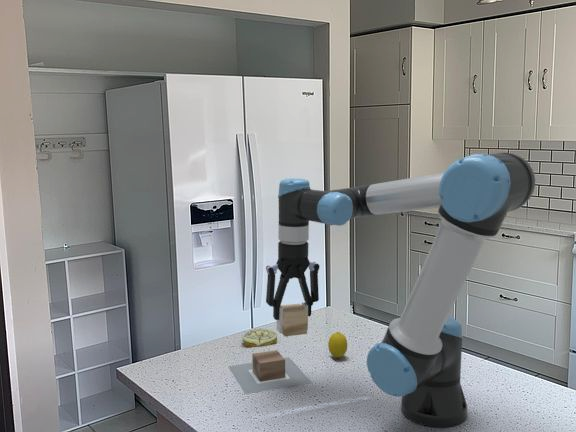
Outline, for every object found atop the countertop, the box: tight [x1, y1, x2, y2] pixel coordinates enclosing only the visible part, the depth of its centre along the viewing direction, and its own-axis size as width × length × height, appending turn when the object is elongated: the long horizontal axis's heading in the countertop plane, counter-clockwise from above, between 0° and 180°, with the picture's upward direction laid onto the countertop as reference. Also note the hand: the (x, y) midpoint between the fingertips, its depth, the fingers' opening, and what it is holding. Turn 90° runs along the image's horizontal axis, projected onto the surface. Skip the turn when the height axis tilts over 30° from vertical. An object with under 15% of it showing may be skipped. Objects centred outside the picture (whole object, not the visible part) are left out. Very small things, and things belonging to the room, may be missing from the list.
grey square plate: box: [227, 356, 313, 395], centre depth 154 cm, size 18×18×1 cm
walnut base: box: [251, 349, 285, 382], centre depth 154 cm, size 7×7×5 cm
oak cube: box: [280, 303, 308, 337], centre depth 146 cm, size 6×6×6 cm
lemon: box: [328, 331, 348, 359], centre depth 167 cm, size 6×6×8 cm
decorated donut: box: [241, 328, 278, 349], centre depth 179 cm, size 10×11×4 cm
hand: (292, 329), depth 146 cm, fingers closed on oak cube, 6 cm apart
